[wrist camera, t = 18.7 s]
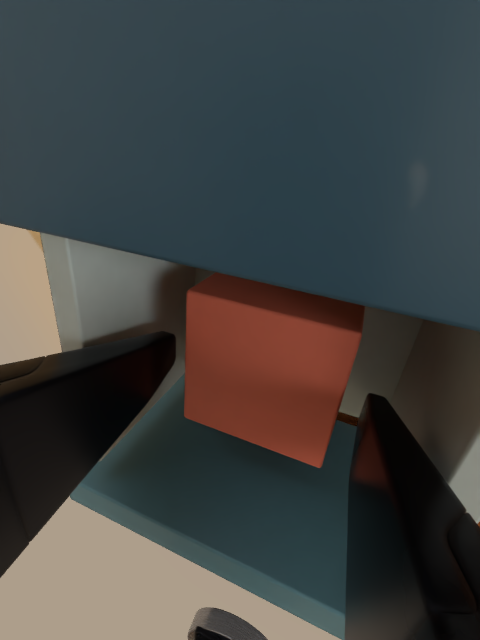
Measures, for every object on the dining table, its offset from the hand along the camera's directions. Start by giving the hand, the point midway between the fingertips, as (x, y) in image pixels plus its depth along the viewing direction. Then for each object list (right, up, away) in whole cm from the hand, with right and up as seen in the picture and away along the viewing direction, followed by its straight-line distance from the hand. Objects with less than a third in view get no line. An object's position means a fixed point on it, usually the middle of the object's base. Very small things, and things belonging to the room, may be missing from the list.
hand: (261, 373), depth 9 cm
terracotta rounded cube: (+1, +2, +3) cm, 4 cm away
